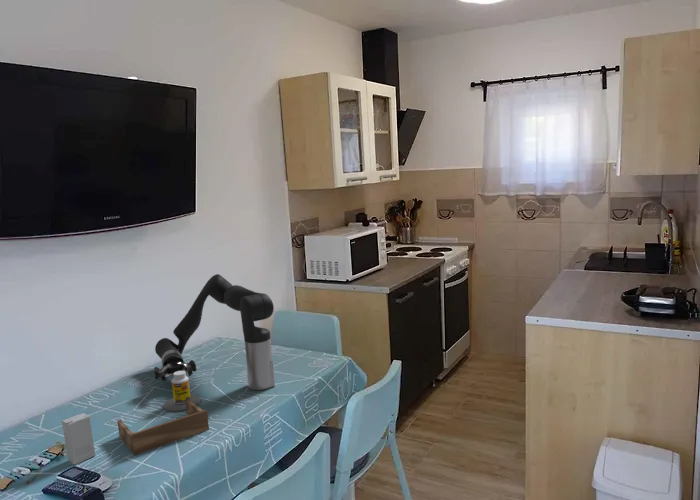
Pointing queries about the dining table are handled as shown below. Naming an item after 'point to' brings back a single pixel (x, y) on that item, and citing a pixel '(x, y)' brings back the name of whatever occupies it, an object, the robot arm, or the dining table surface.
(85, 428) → the skincare box
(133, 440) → the brown wooden u-shaped piece
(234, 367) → the dining table surface
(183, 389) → the supplement bottle
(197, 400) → the slate pad
